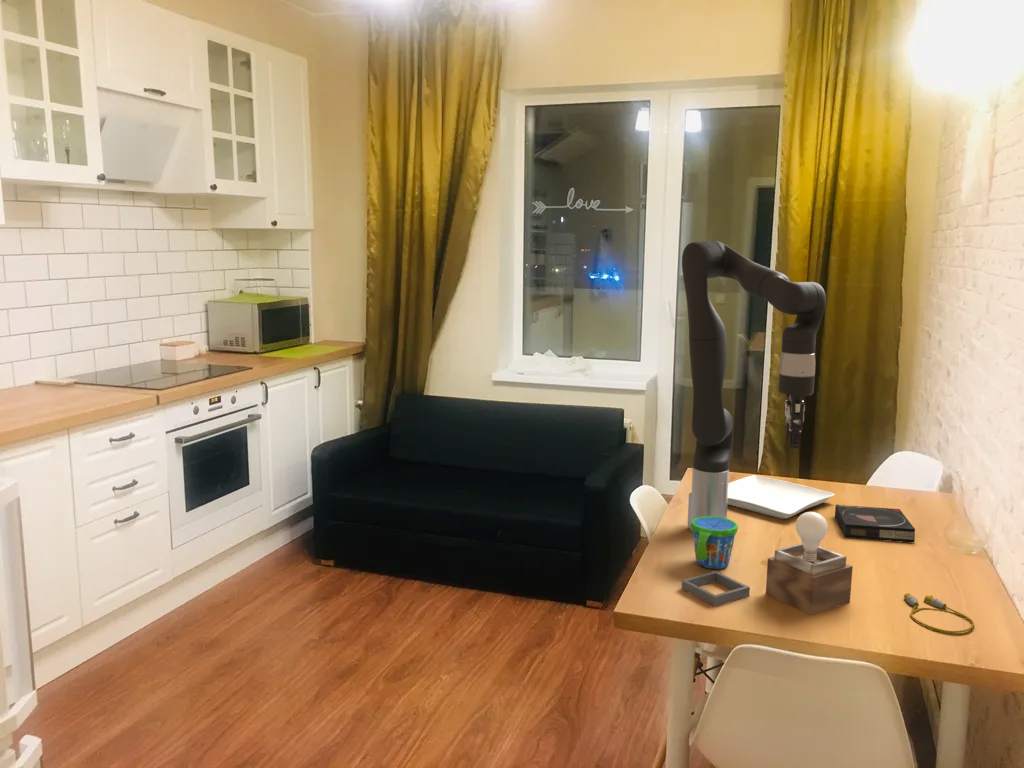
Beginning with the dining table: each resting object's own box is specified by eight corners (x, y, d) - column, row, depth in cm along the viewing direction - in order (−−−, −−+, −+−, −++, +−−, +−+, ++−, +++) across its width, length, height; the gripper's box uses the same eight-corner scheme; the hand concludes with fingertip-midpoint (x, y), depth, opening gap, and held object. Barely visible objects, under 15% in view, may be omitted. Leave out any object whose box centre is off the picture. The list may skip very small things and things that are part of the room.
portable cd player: (845, 539, 208) (846, 525, 208) (834, 518, 225) (835, 504, 224) (914, 545, 205) (915, 530, 204) (898, 523, 221) (899, 509, 220)
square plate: (752, 485, 256) (752, 473, 255) (835, 505, 236) (836, 492, 235) (702, 502, 238) (703, 490, 237) (788, 526, 218) (789, 512, 217)
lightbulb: (788, 557, 174) (791, 508, 172) (817, 556, 174) (820, 507, 173) (801, 568, 168) (804, 517, 166) (831, 567, 168) (834, 516, 166)
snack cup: (707, 549, 200) (709, 510, 198) (748, 560, 193) (750, 519, 191) (675, 568, 188) (677, 526, 187) (717, 580, 181) (719, 536, 180)
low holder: (681, 588, 177) (681, 580, 176) (715, 579, 182) (715, 571, 181) (714, 606, 168) (715, 597, 168) (749, 595, 173) (749, 587, 173)
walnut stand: (765, 593, 174) (768, 549, 173) (803, 582, 180) (806, 539, 179) (811, 615, 164) (814, 568, 163) (849, 602, 170) (853, 557, 169)
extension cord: (967, 608, 169) (968, 599, 168) (978, 641, 154) (979, 631, 154) (903, 598, 173) (904, 589, 173) (907, 630, 159) (908, 620, 159)
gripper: (818, 378, 172) (813, 452, 175) (811, 368, 186) (806, 437, 188) (781, 376, 174) (777, 450, 176) (777, 367, 187) (773, 435, 190)
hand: (792, 443), depth 182 cm, fingers open, 8 cm apart
